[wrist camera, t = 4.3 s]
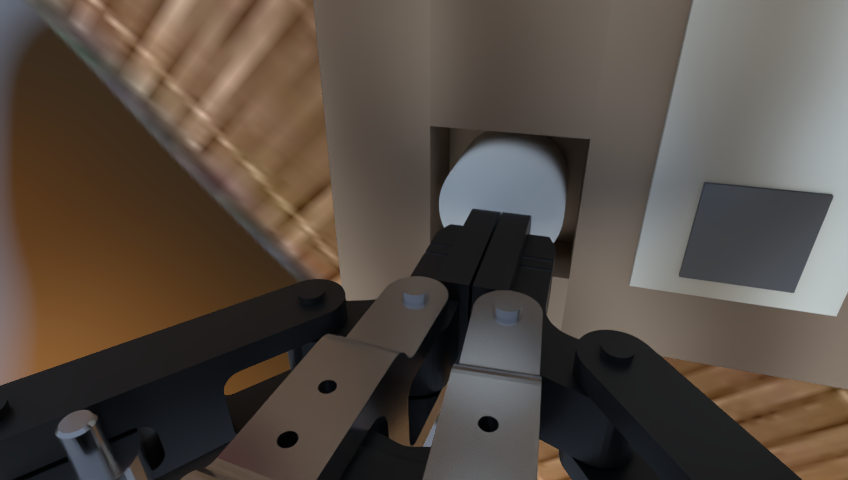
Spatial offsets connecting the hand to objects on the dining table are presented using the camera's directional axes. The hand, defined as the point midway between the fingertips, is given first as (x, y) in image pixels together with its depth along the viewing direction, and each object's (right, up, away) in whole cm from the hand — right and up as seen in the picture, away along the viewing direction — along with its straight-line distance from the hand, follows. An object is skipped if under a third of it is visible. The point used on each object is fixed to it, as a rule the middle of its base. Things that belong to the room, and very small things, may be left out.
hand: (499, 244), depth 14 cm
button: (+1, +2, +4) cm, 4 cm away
